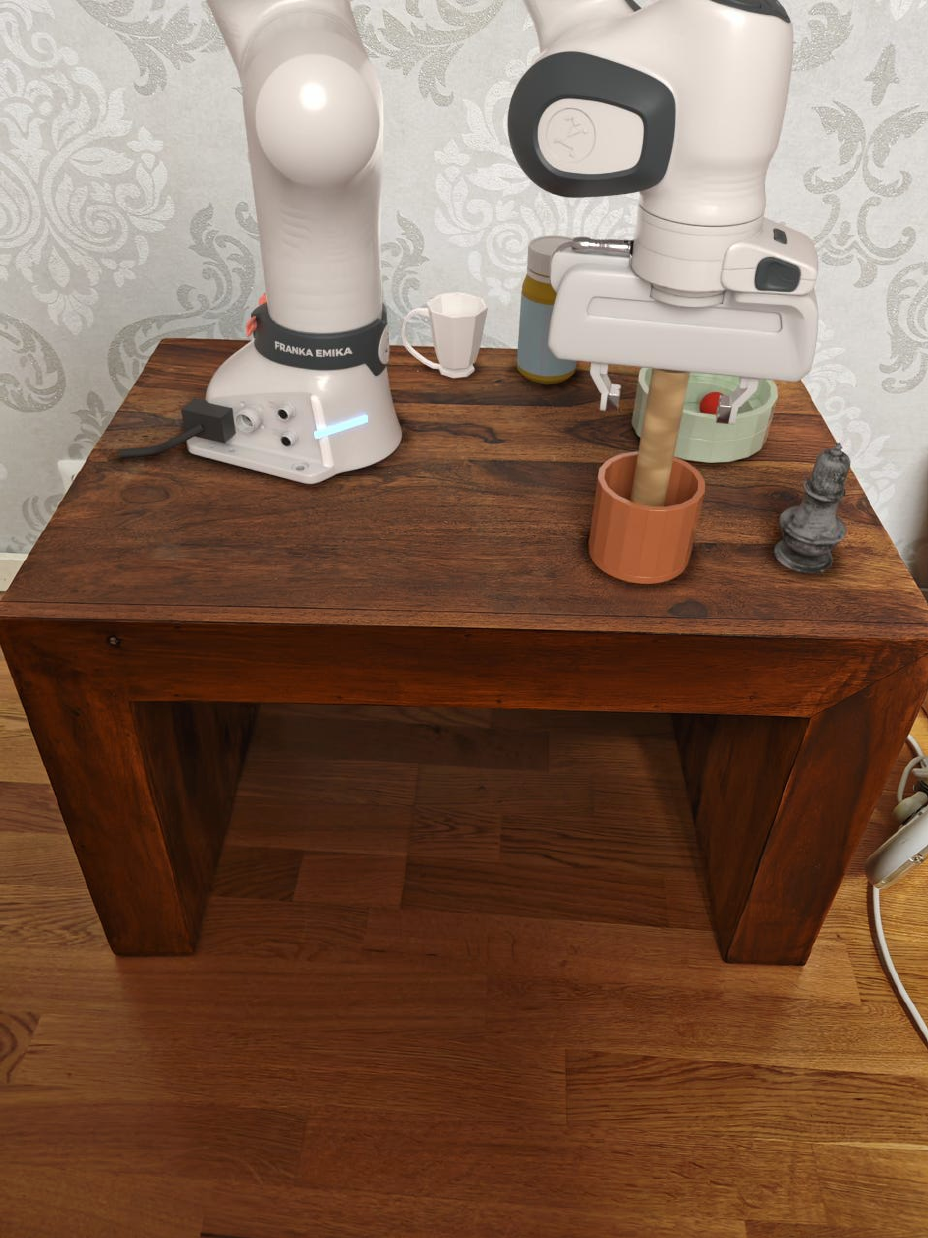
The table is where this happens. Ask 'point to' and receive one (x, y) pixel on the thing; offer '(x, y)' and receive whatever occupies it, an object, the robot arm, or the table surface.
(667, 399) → the stick
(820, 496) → the grey chess piece
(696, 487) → the crock
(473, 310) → the cup
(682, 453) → the bowl
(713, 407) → the ball
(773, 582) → the table surface
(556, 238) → the bottle
